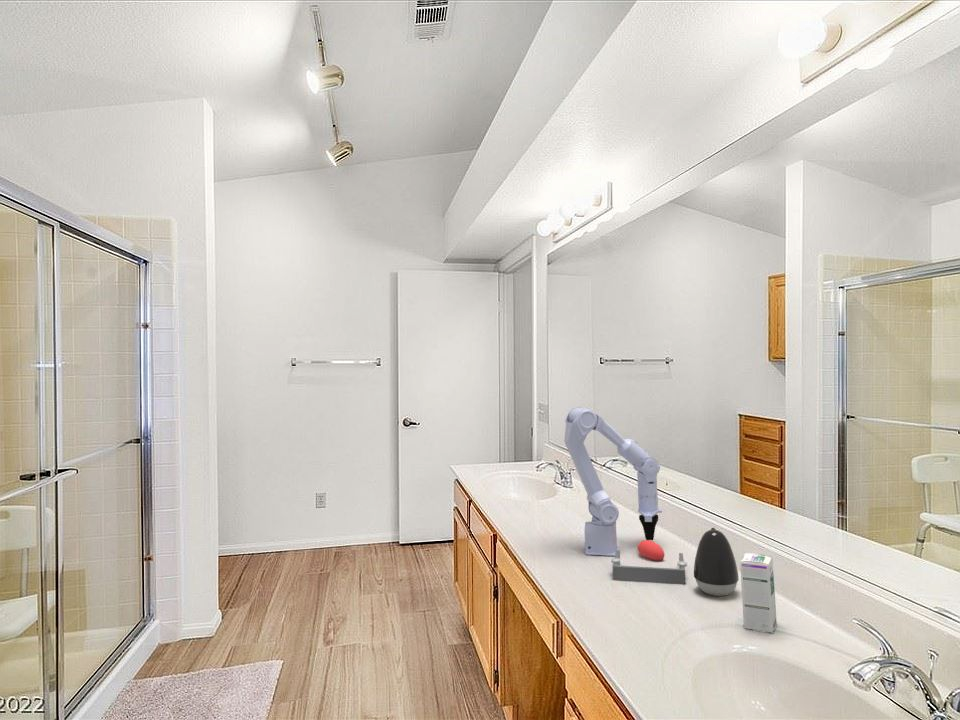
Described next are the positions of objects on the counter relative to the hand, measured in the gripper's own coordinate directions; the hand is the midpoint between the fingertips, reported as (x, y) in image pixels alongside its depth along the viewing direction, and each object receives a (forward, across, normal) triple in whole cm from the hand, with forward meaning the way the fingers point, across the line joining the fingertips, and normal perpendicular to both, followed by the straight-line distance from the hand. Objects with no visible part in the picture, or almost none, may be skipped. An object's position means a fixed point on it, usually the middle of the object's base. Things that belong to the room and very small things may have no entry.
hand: (649, 539), depth 184 cm
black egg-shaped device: (+3, -33, -16) cm, 37 cm away
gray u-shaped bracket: (+2, -22, 0) cm, 23 cm away
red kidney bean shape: (+3, -9, 0) cm, 10 cm away
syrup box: (+3, -51, -23) cm, 56 cm away
